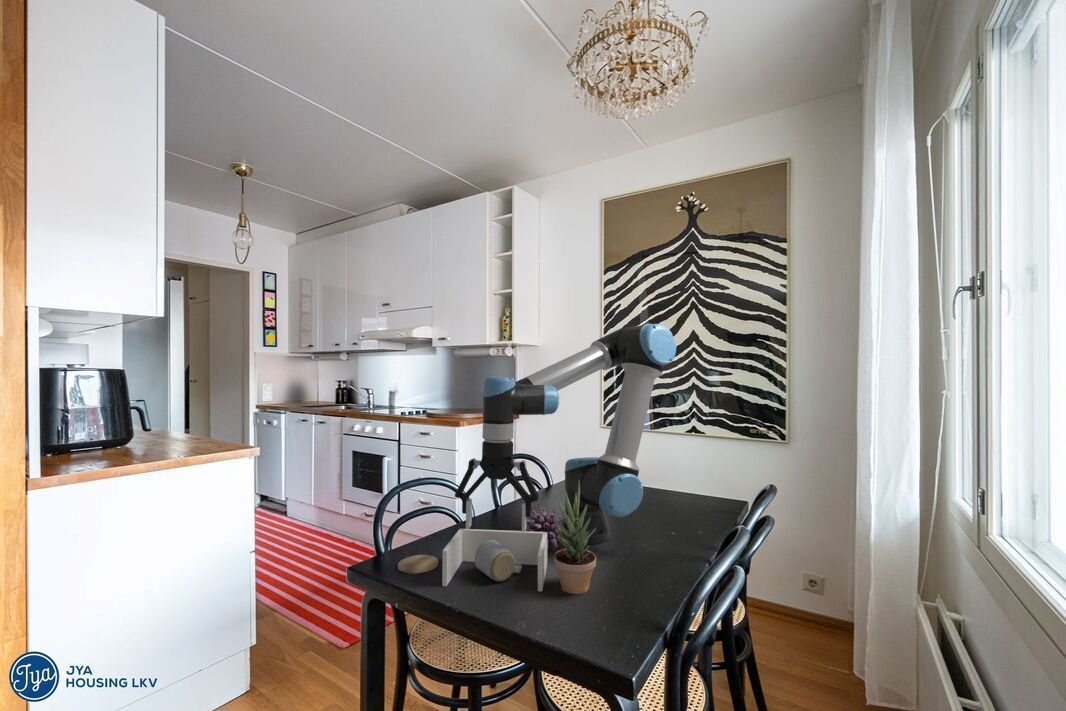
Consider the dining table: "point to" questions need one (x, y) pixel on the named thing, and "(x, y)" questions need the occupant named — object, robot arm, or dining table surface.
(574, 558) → the potted plant
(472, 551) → the white u-shaped wall
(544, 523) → the purple round cluster
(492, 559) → the ceramic mug
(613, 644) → the dining table surface
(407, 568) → the coaster
